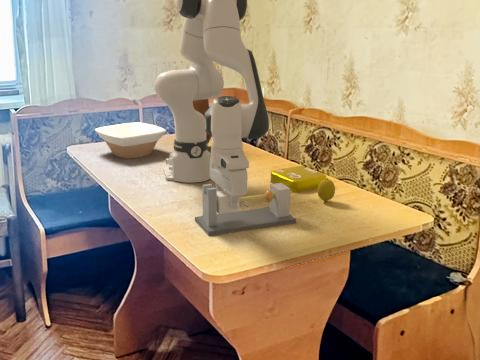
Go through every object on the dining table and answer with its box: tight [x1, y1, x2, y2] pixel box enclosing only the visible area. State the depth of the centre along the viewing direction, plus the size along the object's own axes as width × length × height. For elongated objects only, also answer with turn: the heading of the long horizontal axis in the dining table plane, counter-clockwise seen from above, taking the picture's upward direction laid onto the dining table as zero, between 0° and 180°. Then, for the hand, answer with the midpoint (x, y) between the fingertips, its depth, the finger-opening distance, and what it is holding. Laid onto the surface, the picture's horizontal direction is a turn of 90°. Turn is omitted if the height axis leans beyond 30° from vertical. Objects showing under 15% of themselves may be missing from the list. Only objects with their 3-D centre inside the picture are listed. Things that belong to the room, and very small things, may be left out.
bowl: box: [94, 121, 167, 160], centre depth 243 cm, size 24×25×11 cm
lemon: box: [316, 177, 336, 203], centre depth 188 cm, size 6×6×8 cm
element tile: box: [270, 165, 327, 193], centre depth 207 cm, size 15×15×5 cm
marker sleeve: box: [216, 190, 240, 214], centre depth 167 cm, size 5×6×5 cm
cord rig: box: [194, 183, 297, 237], centre depth 169 cm, size 12×27×12 cm, turn 112°
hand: (226, 203), depth 167 cm, fingers open, 8 cm apart
